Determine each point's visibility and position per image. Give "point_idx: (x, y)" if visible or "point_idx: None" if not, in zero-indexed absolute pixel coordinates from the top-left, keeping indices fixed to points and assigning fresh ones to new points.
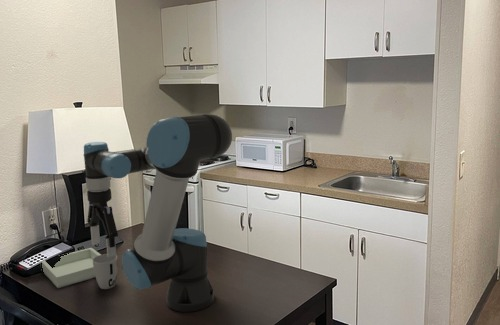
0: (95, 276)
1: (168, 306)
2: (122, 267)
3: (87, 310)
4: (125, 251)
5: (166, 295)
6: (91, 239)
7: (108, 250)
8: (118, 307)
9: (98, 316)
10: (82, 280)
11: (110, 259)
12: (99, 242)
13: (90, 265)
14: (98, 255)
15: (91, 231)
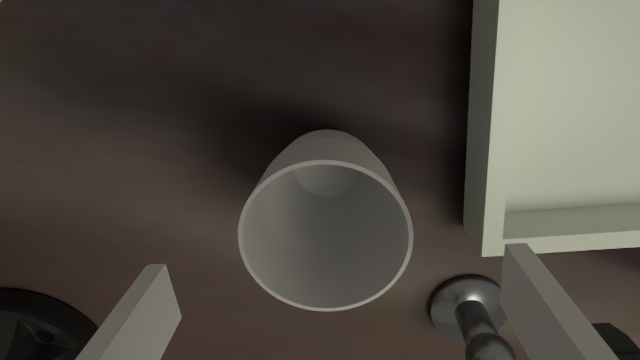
0: (467, 148)
1: (7, 289)
2: (469, 278)
3: (109, 7)
4: (500, 355)
5: (20, 317)
6: (551, 274)
7: (120, 308)
8: (81, 140)
9: (27, 38)
10: (470, 76)
11: (376, 264)
12: (502, 303)
13: (623, 165)
14: (637, 232)
15: (585, 352)
